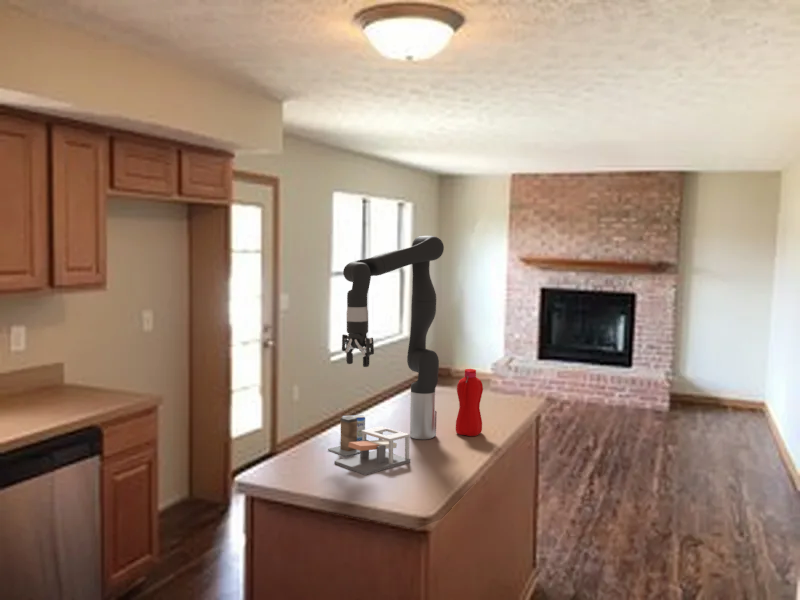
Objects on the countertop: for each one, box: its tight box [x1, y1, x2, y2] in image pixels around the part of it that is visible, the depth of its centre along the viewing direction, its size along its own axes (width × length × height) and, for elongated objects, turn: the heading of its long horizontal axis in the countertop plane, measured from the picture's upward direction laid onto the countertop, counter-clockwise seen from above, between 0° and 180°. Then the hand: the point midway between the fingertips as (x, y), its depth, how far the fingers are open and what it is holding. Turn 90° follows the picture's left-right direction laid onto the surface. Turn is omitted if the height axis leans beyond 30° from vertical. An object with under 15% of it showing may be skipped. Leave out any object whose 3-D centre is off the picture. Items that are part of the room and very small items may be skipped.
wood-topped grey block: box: [339, 415, 358, 451], centre depth 248 cm, size 4×4×11 cm
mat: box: [327, 445, 360, 458], centre depth 249 cm, size 10×10×1 cm
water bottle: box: [455, 368, 484, 437], centre depth 273 cm, size 9×11×25 cm
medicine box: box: [341, 414, 366, 442], centre depth 263 cm, size 8×4×9 cm, turn 105°
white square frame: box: [334, 425, 411, 476], centre depth 235 cm, size 20×15×9 cm
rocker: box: [348, 439, 398, 451], centre depth 235 cm, size 16×6×2 cm, turn 134°
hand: (357, 365), depth 251 cm, fingers open, 8 cm apart
